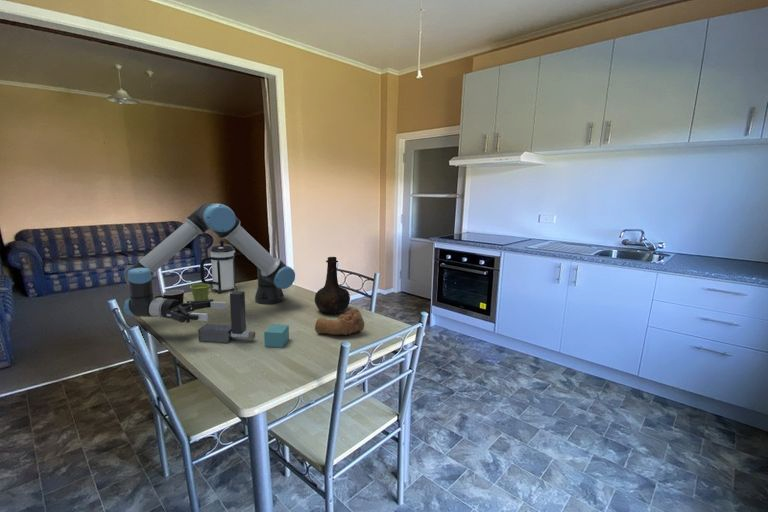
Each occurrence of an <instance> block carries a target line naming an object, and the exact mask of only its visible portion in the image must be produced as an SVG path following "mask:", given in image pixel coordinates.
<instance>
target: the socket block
mask: <svg viewBox="0 0 768 512" xmlns="http://www.w3.org/2000/svg"><path fill="white" fill-rule="evenodd" d="M263 337H264V347H267V348H268V347H269V348H281V347H282V348H283V347H284V346H285V345H286V344H287V342H288V341H289V340H290V325H289V324H271V325H269V326H268V328H267V329H266V330H264V331H263ZM288 339H289V340H288ZM287 340H288V341H287ZM284 344H285V345H284ZM283 345H284V346H283Z"/></svg>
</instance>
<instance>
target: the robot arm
mask: <svg viewBox="0 0 768 512" xmlns="http://www.w3.org/2000/svg"><path fill="white" fill-rule="evenodd" d="M208 230H211V232H213V233H214V234H215V235H216V236H217V237H218V238H219V239H221V240H222V239H223V240H224V239H225V240H227V241H228V242H229V243H230V245H232V246H234V247H235V249H237V250H238V251H239V252H240V253H241V254H242V255H244V256H245V257H246V258H247V259H248V260H249V261H251V263H253V264H254V265H255V266H256V269H257V270H256V271H257V273H256V274H257V289H256V292H255V296H254V302H255V303H257V304H262V305H272V304H278V303H281V302H283V301H284V299H285V295H284V292H283V290H285V289H288V288H290V287H291V286H292V285H293V284H294V282H295V280H296V273H295V269H293V268H292V267H291V266H287V265H286V263H284V262H283V260H281V259H280V258H279V257H274V256H273V255H272V254H271V253H270V252H268V250H267V249H265V247H263V246H262V245H261V244H260V243H259V242H258V241H257V240H256V239H255V238H254V237H253V236H252V235H250V233H248V232H247V230H246V229H244V227H243V226H241V220H240V219H239V218H238V217H237V216H236V214H235V212H234V210H232V208H231V207H229V206H227V204H226V205H225V204H222V203H214V202H206V203H203V204H201V205H200V206H198V208H196V209H195V210H194V211H192V212H191V214H189V215H188V216H187V217H186V218H185V221H184V222H183V224H181V225H180V226H179V227H178V228H176V230H174V231H173V232H172V233H171V234H170V235H168V236H167V237H166V238H165V239H164V240H163V241H161V242H160V243H159V244H157V245H156V246H155V247H154V248H153V249H151V250H150V251H149V252H148V253H147V254H146V255H144V257H142V258H141V259H140V260H138V262H136V263H135V264H134V265H131V266H128V267H127V268H126V269H125V270H124V271H123V279H124V281H125V283H126V284H127V286H128V289H129V297H128V298H126V300H125V301H124V303H123V304H124V305H123V312H124V314H126V315H127V316H130V317H131V316H132V317H137V318H138V317H142V318H143V317H144V318H145V317H146V318H158V319H163V318H165V319H171V320H173V321H177V322H179V323H188V324H189V323H191V321H199V322H208V321H209V313H199V312H195V311H196V310H197V311H198V310H203V309H209V308H210V309H217V310H226V309H228V308H227V307H228V305H227V304H228V303H227V302H224V301H214V300H213V299H211V298H210V299H208V300H201V301H194V300H188V301H187V300H186V302H183V303H182V304H181V303H180V302H179V301H178V300H176V299H163V298H160V297H157V298H155V297H154V292H153V281H152V278H153V275H154V274H155V273H156V272H158V270H160V268H162V267H163V266H164V265H165V264H167V263H168V262H169V261H170V260H171V259H172V258H173V257H175V255H177V254H178V253H179V252H180V251H181V250H183V249H184V247H186V246H187V245H188V244H190V242H192V241H193V240H194V239H196V237H197V236H199V235H204V233H206V232H207V231H208ZM282 300H283V301H282ZM190 312H191V313H190Z"/></svg>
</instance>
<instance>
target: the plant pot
mask: <svg viewBox="0 0 768 512" xmlns="http://www.w3.org/2000/svg"><path fill="white" fill-rule="evenodd" d="M210 287H211V285H209V284H204V283H197V284H196V283H195V284H191V285H190V286H189V288H190V291H191V292H192V296H193V301H201V300H209V290H210Z"/></svg>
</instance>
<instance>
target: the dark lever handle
mask: <svg viewBox="0 0 768 512" xmlns="http://www.w3.org/2000/svg"><path fill="white" fill-rule="evenodd" d="M245 296H246V294H245V291H242V290H240V291H239V290H236V291H235V290H234V291H232V292H231V293H229V304H230V306H229V308H230V323H231V324H230V325H231V328H232V330H231V331H229V335H230V338H234V339H244V340H254V339H255V338H256V332H255V331H250V330H249V331H248V330H247V318H246V297H245Z"/></svg>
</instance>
